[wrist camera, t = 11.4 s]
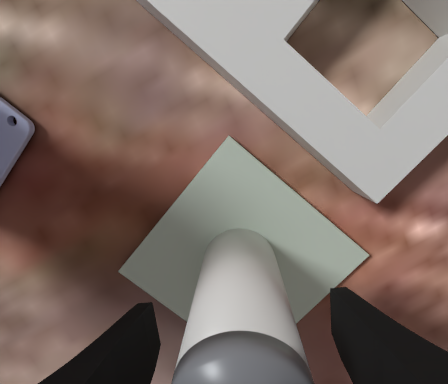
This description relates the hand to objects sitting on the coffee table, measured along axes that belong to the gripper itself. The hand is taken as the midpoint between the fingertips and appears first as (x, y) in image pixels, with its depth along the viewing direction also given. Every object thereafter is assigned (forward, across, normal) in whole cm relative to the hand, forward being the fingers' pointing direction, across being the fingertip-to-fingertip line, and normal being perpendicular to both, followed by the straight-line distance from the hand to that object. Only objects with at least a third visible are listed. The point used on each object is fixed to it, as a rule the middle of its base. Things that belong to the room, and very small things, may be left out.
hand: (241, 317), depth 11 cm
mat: (+5, 0, 0) cm, 5 cm away
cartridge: (+4, 0, 0) cm, 4 cm away
